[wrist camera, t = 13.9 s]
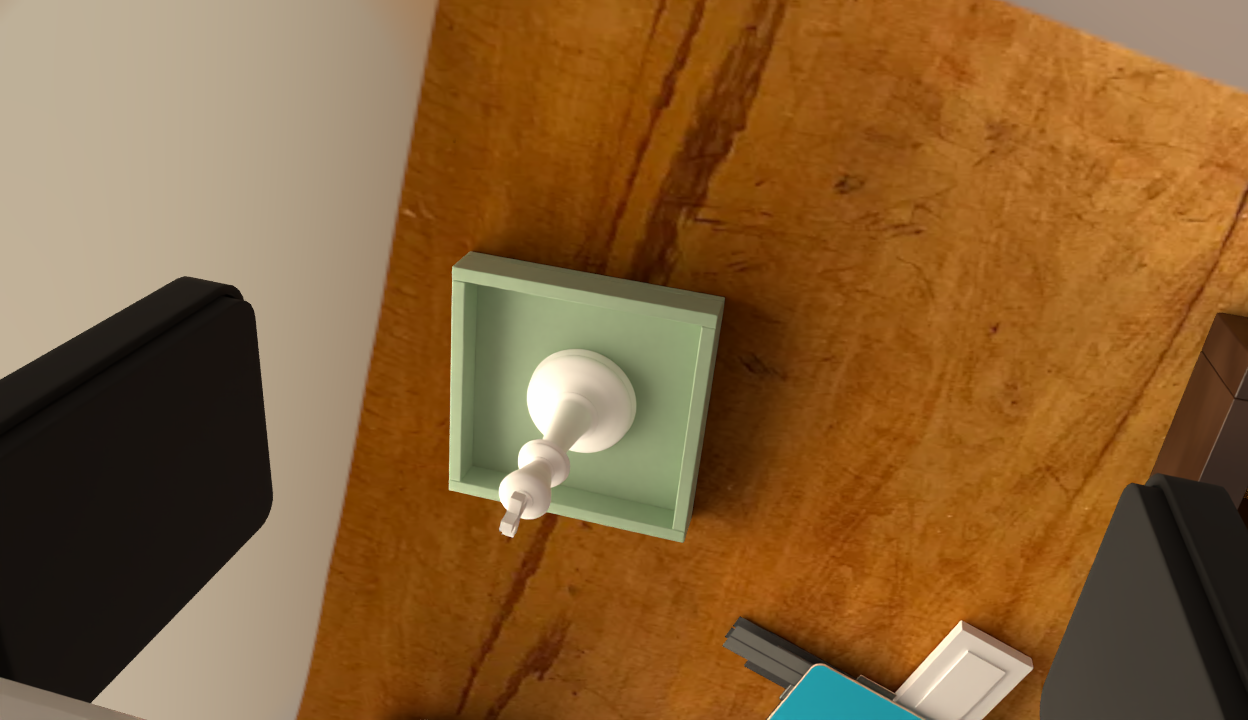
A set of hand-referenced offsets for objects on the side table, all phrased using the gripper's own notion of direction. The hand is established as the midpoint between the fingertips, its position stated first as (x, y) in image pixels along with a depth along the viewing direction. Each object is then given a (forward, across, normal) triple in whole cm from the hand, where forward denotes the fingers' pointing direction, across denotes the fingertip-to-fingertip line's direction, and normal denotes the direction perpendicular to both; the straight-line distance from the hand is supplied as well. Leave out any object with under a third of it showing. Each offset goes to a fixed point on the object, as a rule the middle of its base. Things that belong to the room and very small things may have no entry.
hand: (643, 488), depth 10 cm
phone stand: (+28, -10, +30) cm, 42 cm away
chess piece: (+28, +8, +16) cm, 33 cm away
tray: (+28, +8, +16) cm, 33 cm away
